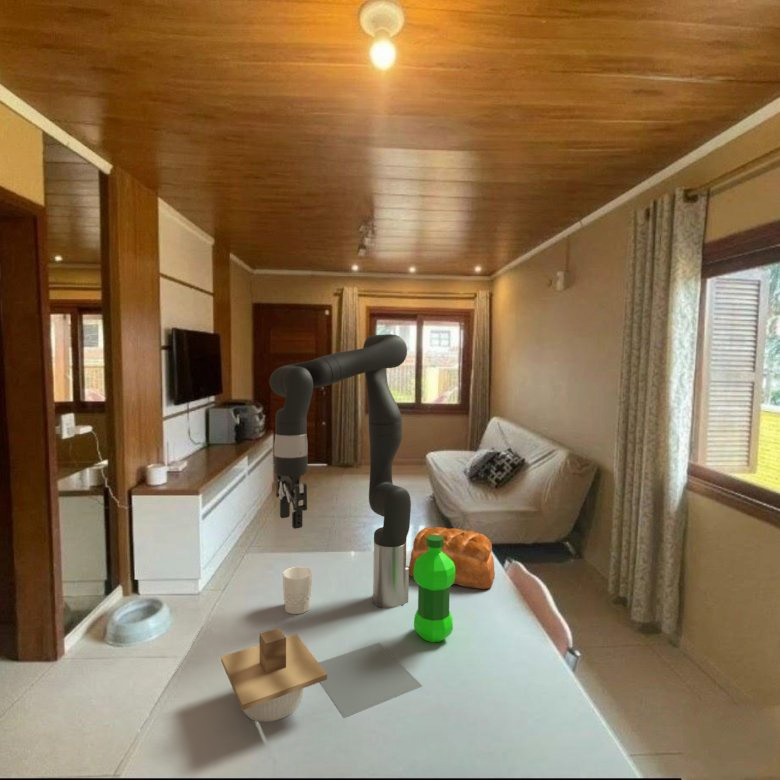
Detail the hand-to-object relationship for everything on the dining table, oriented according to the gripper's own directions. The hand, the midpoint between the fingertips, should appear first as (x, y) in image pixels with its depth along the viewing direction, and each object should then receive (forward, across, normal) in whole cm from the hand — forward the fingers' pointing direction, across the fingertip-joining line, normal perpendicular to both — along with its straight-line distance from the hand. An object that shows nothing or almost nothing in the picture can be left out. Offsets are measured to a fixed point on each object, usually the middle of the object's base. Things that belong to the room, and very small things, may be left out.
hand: (290, 522), depth 111 cm
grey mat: (+30, -18, -10) cm, 36 cm away
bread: (+30, +12, -58) cm, 66 cm away
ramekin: (+30, -16, +9) cm, 36 cm away
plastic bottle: (+30, -13, -32) cm, 46 cm away
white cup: (+30, +17, -8) cm, 36 cm away
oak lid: (+23, -16, +9) cm, 30 cm away
